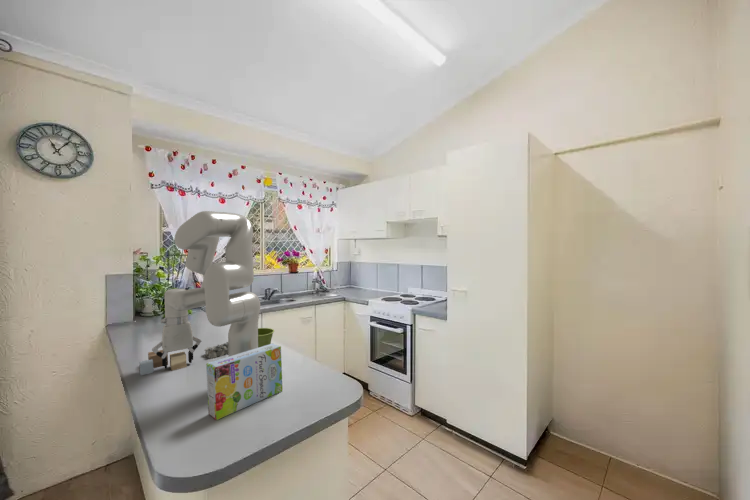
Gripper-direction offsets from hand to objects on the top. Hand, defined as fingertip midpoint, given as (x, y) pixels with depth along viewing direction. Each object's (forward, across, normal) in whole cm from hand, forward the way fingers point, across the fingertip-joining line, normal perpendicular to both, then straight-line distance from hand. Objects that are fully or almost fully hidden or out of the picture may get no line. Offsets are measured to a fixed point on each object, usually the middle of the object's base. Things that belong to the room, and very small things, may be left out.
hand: (178, 364), depth 122 cm
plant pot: (+1, +28, -12) cm, 30 cm away
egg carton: (+1, +16, +5) cm, 17 cm away
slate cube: (+1, -10, +2) cm, 10 cm away
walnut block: (+1, -6, +8) cm, 10 cm away
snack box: (+1, +13, -46) cm, 48 cm away
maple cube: (+1, 0, 0) cm, 1 cm away
